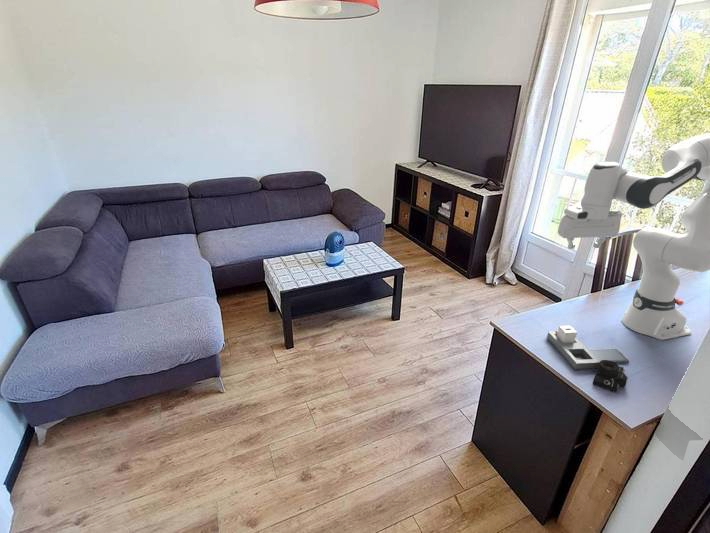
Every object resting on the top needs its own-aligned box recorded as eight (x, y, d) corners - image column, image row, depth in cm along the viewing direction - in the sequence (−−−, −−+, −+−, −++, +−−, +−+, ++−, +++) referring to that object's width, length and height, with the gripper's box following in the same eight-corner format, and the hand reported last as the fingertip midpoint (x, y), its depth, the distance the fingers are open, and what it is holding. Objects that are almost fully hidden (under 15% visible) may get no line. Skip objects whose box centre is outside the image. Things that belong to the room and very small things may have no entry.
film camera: (601, 348, 125) (636, 357, 117) (602, 367, 127) (636, 377, 119) (582, 366, 118) (617, 377, 110) (583, 386, 120) (618, 398, 112)
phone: (615, 351, 132) (616, 348, 131) (628, 363, 126) (629, 360, 126) (580, 352, 131) (581, 350, 131) (592, 364, 126) (592, 362, 125)
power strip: (567, 337, 140) (569, 329, 138) (597, 369, 124) (600, 360, 122) (546, 338, 139) (548, 330, 138) (574, 370, 123) (577, 361, 122)
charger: (566, 339, 137) (570, 324, 134) (572, 346, 133) (577, 331, 131) (555, 340, 137) (559, 325, 134) (561, 347, 133) (565, 332, 130)
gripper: (616, 207, 129) (605, 243, 135) (560, 209, 128) (551, 245, 134) (629, 212, 123) (617, 250, 129) (570, 214, 122) (561, 252, 128)
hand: (583, 248), depth 131 cm, fingers open, 8 cm apart
